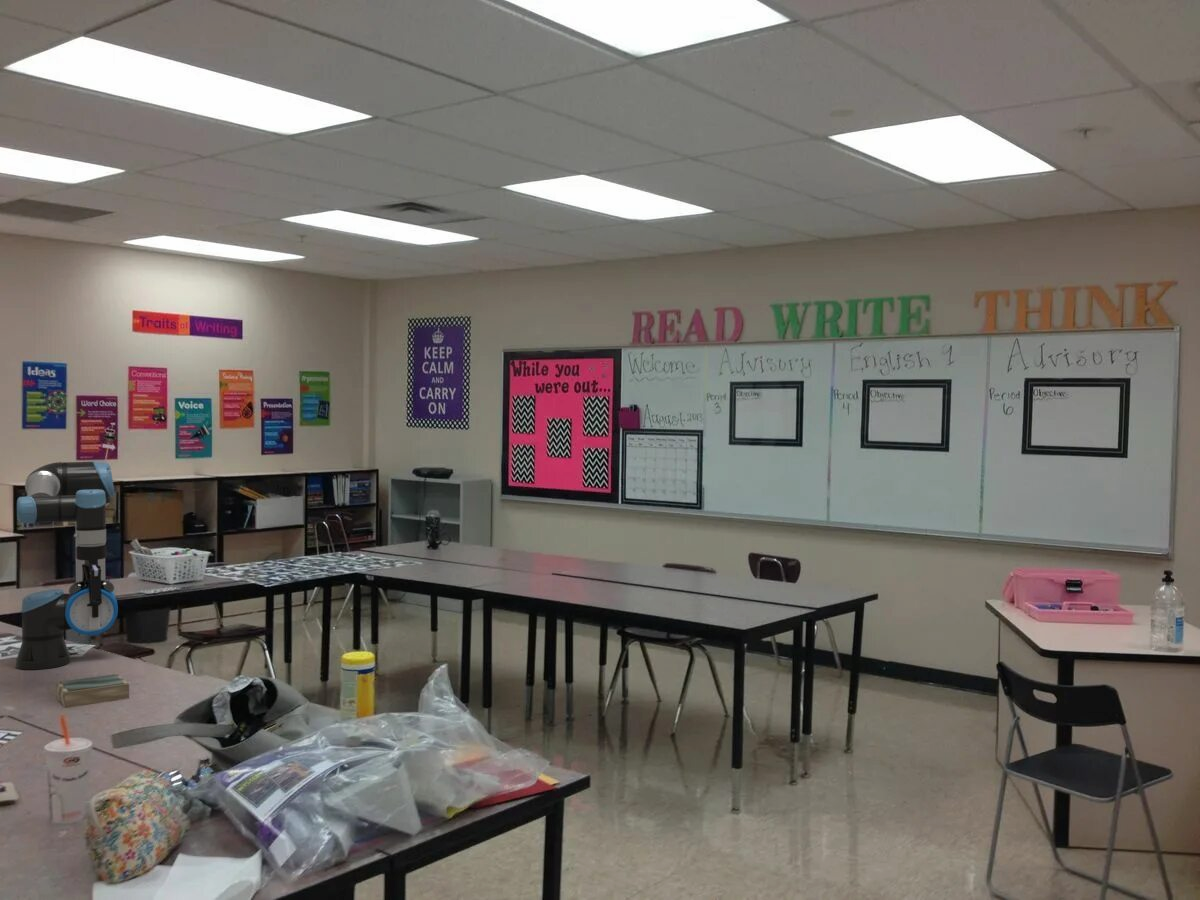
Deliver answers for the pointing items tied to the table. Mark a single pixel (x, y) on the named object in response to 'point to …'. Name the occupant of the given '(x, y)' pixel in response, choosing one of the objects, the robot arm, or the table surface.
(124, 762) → the table surface
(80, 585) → the alarm clock
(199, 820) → the table surface
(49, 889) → the table surface
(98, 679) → the base
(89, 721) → the table surface
